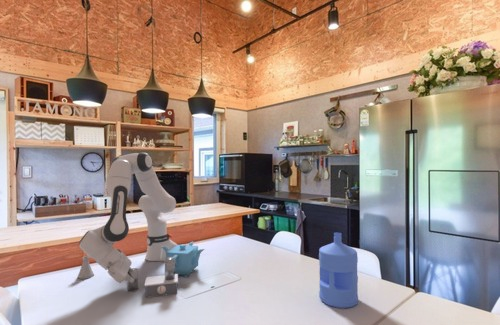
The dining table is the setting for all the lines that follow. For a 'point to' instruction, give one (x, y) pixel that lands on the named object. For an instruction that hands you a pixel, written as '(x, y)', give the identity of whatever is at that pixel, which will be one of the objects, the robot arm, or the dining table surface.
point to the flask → (85, 269)
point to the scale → (160, 286)
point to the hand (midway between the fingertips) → (134, 278)
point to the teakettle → (184, 258)
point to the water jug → (338, 274)
